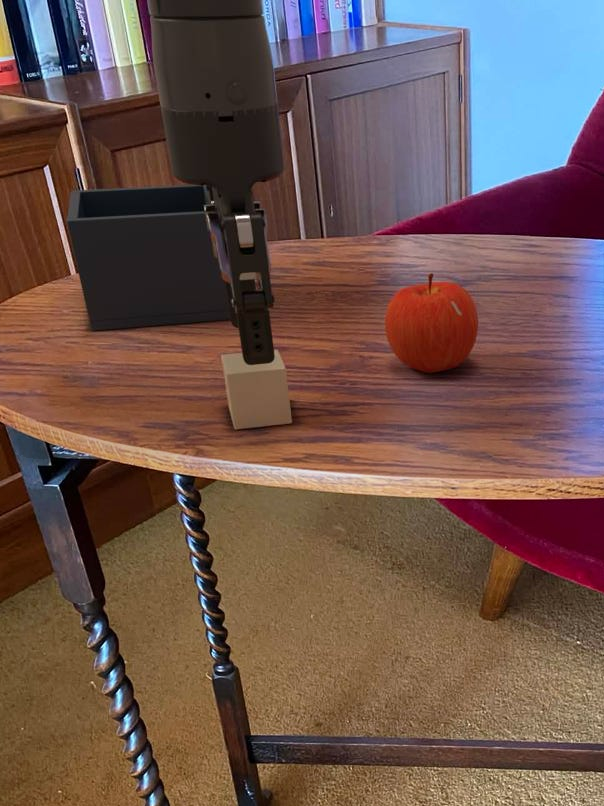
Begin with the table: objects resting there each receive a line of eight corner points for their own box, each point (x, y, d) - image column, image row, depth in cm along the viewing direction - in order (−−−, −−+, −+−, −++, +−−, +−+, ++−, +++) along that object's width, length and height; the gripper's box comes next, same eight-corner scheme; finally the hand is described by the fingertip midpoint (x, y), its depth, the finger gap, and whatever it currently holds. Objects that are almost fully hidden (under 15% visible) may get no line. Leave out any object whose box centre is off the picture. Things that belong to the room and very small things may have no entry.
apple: (496, 369, 85) (498, 275, 80) (422, 389, 80) (419, 292, 76) (442, 344, 90) (441, 255, 85) (369, 363, 86) (364, 270, 81)
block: (234, 430, 73) (226, 374, 71) (229, 408, 77) (220, 354, 74) (292, 423, 75) (286, 368, 72) (284, 402, 78) (278, 349, 75)
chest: (91, 331, 92) (66, 220, 86) (93, 290, 102) (71, 190, 97) (238, 318, 95) (223, 212, 89) (225, 281, 106) (211, 183, 100)
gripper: (155, 87, 67) (194, 319, 77) (164, 115, 56) (209, 382, 66) (263, 84, 69) (288, 311, 79) (292, 110, 58) (318, 370, 68)
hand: (252, 343), depth 72 cm, fingers open, 8 cm apart
